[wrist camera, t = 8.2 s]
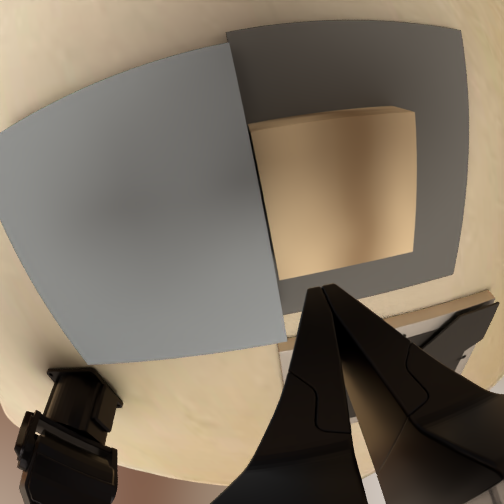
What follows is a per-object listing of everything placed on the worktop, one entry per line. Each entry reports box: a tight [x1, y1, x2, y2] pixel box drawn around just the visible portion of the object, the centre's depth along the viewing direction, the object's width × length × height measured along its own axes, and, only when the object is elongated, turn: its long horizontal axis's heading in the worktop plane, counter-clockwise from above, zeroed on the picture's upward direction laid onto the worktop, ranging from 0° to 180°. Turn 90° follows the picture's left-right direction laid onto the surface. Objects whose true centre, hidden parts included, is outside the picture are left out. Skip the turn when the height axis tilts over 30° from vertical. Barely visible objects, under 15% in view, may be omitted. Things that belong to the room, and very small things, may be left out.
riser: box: [0, 42, 287, 365], centre depth 16 cm, size 14×16×4 cm
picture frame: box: [278, 290, 499, 424], centre depth 27 cm, size 16×3×21 cm
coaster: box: [248, 106, 417, 280], centre depth 16 cm, size 8×8×2 cm
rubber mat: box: [226, 20, 469, 315], centre depth 17 cm, size 14×18×1 cm
